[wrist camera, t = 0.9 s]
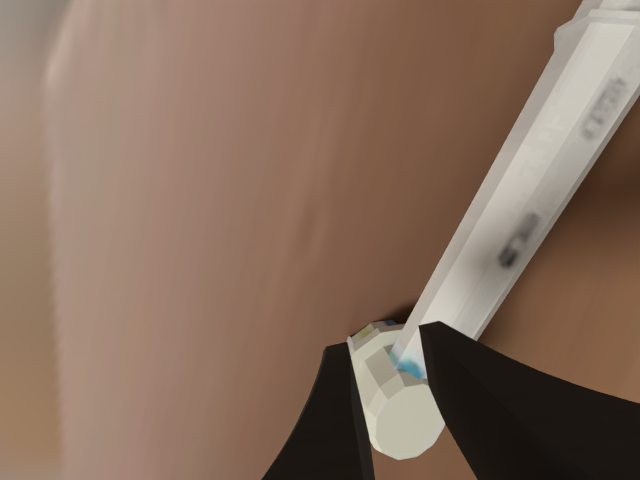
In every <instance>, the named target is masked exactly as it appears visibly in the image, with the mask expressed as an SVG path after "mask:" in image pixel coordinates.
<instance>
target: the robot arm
mask: <svg viewBox="0 0 640 480" xmlns="http://www.w3.org/2000/svg"><path fill="white" fill-rule="evenodd" d="M418 327H419V333H420V339H421V344H422V350H423V356H424V362H425V368H426V373H427V379H428V385H429V388H430V390H431V393H432V395H433V397H434V400H435V402H436V405H437V407H438V409H439V411H440V414H441V416H442V418H443V420H444V422H445V424H446V425H447V427H448V429H449V431H450V432H451V434H452V436H453V438H454V439H455V441H456V443H457V445H458V446H459V448H460V450H461V452H462V453H463V455H464V457H465V458H466V460H467V462H468V464H469V465H470V467H471V469H472V471H473V472H474V474H475V476H476V477H477V479H478V480H640V403H636V402H632V401H628V400H625V399H621V398H618V397H615V396H611V395H608V394H604V393H601V392H597V391H594V390H591V389H588V388H585V387H582V386H579V385H576V384H573V383H570V382H568V381H565V380H562V379H559V378H557V377H554V376H551V375H548V374H546V373H543V372H541V371H538V370H536V369H534V368H531V367H529V366H527V365H525V364H522V363H520V362H518V361H516V360H513V359H511V358H509V357H507V356H505V355H503V354H501V353H499V352H497V351H495V350H493V349H491V348H489V347H487V346H485V345H483V344H481V343H479V342H477V341H476V340H474V339H472V338H470V337H468V336H466V335H465V334H463V333H461V332H459V331H457V330H456V329H454V328H452V327H450V326H448V325H447V324H445V323H443V322H441V321H436V322H431V323H427V324H423V325H418ZM261 480H375V476H374V468H373V461H372V453H371V446H370V438H369V433H368V428H367V424H366V420H365V415H364V411H363V407H362V402H361V398H360V394H359V390H358V385H357V381H356V377H355V372H354V368H353V364H352V360H351V355H350V351H349V347H348V342H344V343H340V344H335V345H331V346H327V347H326V348H325V350H324V352H323V357H322V361H321V365H320V368H319V371H318V374H317V377H316V380H315V383H314V385H313V388H312V390H311V393H310V395H309V398H308V400H307V402H306V404H305V407H304V409H303V411H302V413H301V415H300V417H299V419H298V421H297V423H296V425H295V427H294V429H293V431H292V433H291V434H290V436H289V438H288V440H287V441H286V443H285V445H284V446H283V448H282V450H281V451H280V453H279V454H278V456H277V457H276V459H275V460H274V462H273V463H272V465H271V466H270V468H269V469H268V471H267V472H266V474H265V475H264V477H263V478H262V479H261Z"/></svg>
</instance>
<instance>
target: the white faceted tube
mask: <svg viewBox="0 0 640 480" xmlns="http://www.w3.org/2000/svg"><path fill="white" fill-rule="evenodd" d="M554 50H555V51H554V53H553V55H552V57H551V58H550V60H549V62H548V64H547V66H546V68H545V69H544V71H543V73H542V75H541V77H540V79H539V80H538V82H537V84H536V86H535V88H534V90H533V91H532V93H531V95H530V97H529V99H528V101H527V102H526V104H525V106H524V108H523V110H522V112H521V113H520V115H519V117H518V119H517V121H516V123H515V124H514V126H513V128H512V130H511V132H510V134H509V135H508V137H507V139H506V141H505V143H504V145H503V146H502V148H501V150H500V152H499V154H498V155H497V157H496V159H495V161H494V163H493V165H492V166H491V168H490V170H489V172H488V174H487V176H486V177H485V179H484V181H483V183H482V185H481V187H480V188H479V190H478V192H477V194H476V196H475V198H474V199H473V201H472V203H471V205H470V207H469V209H468V210H467V212H466V214H465V216H464V218H463V220H462V221H461V223H460V225H459V227H458V229H457V231H456V232H455V234H454V236H453V238H452V240H451V242H450V243H449V245H448V247H447V249H446V251H445V253H444V254H443V256H442V258H441V260H440V262H439V264H438V265H437V267H436V269H435V271H434V273H433V274H432V276H431V278H430V280H429V282H428V284H427V285H426V287H425V289H424V291H423V293H422V295H421V296H420V298H419V300H418V302H417V304H416V306H415V307H414V309H413V311H412V313H411V315H410V317H409V318H408V320H407V322H406V324H399V323H397V322H395V321H393V320H386V321H378V322H370V324H369V325H368V326H366V327H365V328H364V329H362V330H361V331H360V332H358V333H357V334H355V335H354V336H353V337H351V336H349V337H348V339H347V341H346V342H348V347H349V351H350V355H351V360H352V364H353V368H354V372H355V377H356V381H357V385H358V390H359V394H360V398H361V402H362V407H363V411H364V415H365V420H366V424H367V428H368V433H369V438H370V442H371V443H372V445H373V446H374V448H375V449H376V450H378V451H380V452H382V453H383V454H386V455H388V456H390V457H393V458H395V459H397V460H401V459H407V458H412V457H417V456H418V455H420V454H421V453H423V452H424V451H425V450H427V449H428V448H429V447H431V446H432V445H433V444H434V443H435V441H436V439H437V438H438V436H439V434H440V433H441V431H442V429H443V428H444V426H445V422H444V420H443V418H442V416H441V414H440V411H439V409H438V407H437V405H436V402H435V400H434V397H433V395H432V393H431V390H430V388H429V385H428V379H427V373H426V368H425V362H424V356H423V350H422V344H421V339H420V333H419V327H418V325H423V324H427V323H431V322H436V321H441V322H443V323H445V324H447V325H448V326H450V327H452V328H454V329H456V330H457V331H459V332H461V333H463V334H465V335H466V336H468V337H470V338H472V339H474V340H476V341H477V340H478V338H479V337H480V335H481V334H482V332H483V331H484V329H485V328H486V326H487V324H488V323H489V321H490V320H491V318H492V317H493V315H494V314H495V312H496V311H497V309H498V308H499V306H500V305H501V303H502V302H503V300H504V299H505V297H506V296H507V294H508V293H509V291H510V290H511V288H512V287H513V285H514V284H515V282H516V281H517V279H518V278H519V276H520V275H521V273H522V272H523V270H524V269H525V267H526V266H527V264H528V263H529V261H530V260H531V258H532V257H533V255H534V254H535V252H536V251H537V249H538V248H539V246H540V245H541V243H542V242H543V240H544V239H545V237H546V236H547V234H548V232H549V231H550V229H551V228H552V226H553V225H554V223H555V222H556V220H557V219H558V217H559V216H560V214H561V213H562V211H563V210H564V208H565V207H566V205H567V204H568V202H569V201H570V199H571V198H572V196H573V195H574V193H575V192H576V190H577V189H578V187H579V186H580V184H581V183H582V181H583V180H584V178H585V177H586V175H587V174H588V172H589V171H590V169H591V168H592V166H593V165H594V163H595V162H596V160H597V159H598V157H599V156H600V154H601V153H602V151H603V150H604V148H605V147H606V145H607V144H608V142H609V140H610V139H611V137H612V136H613V134H614V133H615V131H616V130H617V128H618V127H619V125H620V124H621V122H622V121H623V119H624V118H625V116H626V115H627V113H628V112H629V110H630V109H631V107H632V106H633V104H634V103H635V101H636V100H637V98H638V97H639V95H640V0H583V1H582V3H581V5H580V7H579V8H578V10H577V12H576V14H575V15H574V17H573V19H572V20H571V21H569V22H567V23H565V24H564V25H562V26H560V27H558V28H557V30H556V32H555V34H554Z"/></svg>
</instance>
